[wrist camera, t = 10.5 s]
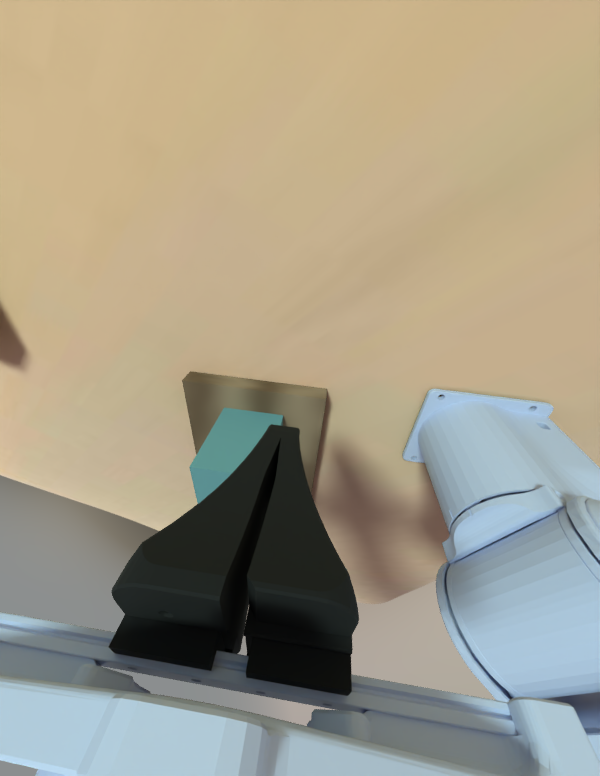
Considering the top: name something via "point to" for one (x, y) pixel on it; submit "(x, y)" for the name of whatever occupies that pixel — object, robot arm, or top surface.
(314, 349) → the top surface
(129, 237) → the top surface
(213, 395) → the brown wooden board
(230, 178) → the top surface
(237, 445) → the teal block
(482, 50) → the top surface
